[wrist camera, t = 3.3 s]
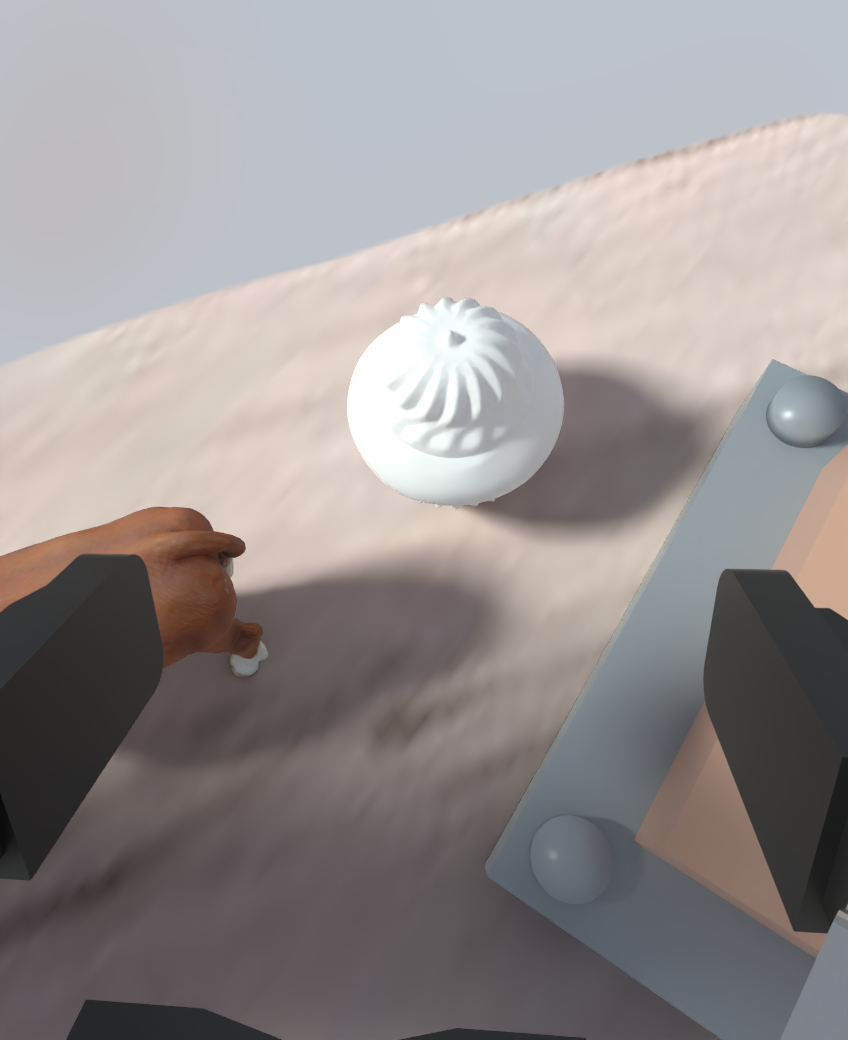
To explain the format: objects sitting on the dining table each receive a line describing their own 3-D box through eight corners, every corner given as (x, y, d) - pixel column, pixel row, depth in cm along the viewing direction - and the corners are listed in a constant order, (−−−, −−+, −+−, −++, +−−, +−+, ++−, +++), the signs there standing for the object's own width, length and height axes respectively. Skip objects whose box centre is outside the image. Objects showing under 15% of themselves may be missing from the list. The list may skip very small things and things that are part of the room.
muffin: (497, 578, 23) (503, 493, 16) (329, 491, 24) (273, 381, 18) (585, 418, 24) (623, 282, 18) (423, 346, 26) (403, 195, 19)
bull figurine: (-127, 654, 23) (-421, 590, 16) (287, 553, 24) (195, 440, 16) (-131, 799, 22) (-458, 804, 14) (312, 689, 22) (223, 636, 14)
